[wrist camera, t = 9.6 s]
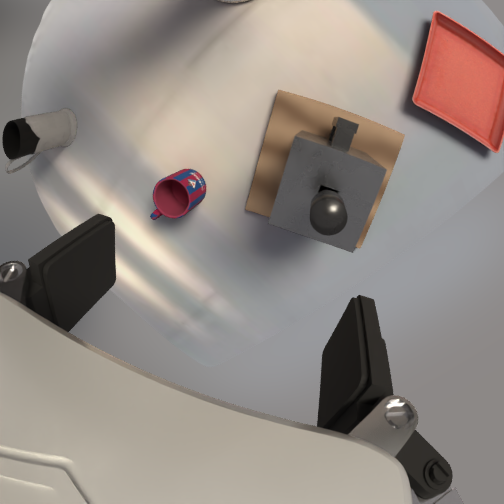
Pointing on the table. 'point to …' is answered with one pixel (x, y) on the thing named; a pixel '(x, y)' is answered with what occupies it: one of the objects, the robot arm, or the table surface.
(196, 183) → the mug
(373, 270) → the table surface
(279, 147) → the board
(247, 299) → the table surface
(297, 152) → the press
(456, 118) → the plant saucer
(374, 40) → the table surface
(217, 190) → the table surface
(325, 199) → the plunger
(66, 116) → the grey and black pitcher
